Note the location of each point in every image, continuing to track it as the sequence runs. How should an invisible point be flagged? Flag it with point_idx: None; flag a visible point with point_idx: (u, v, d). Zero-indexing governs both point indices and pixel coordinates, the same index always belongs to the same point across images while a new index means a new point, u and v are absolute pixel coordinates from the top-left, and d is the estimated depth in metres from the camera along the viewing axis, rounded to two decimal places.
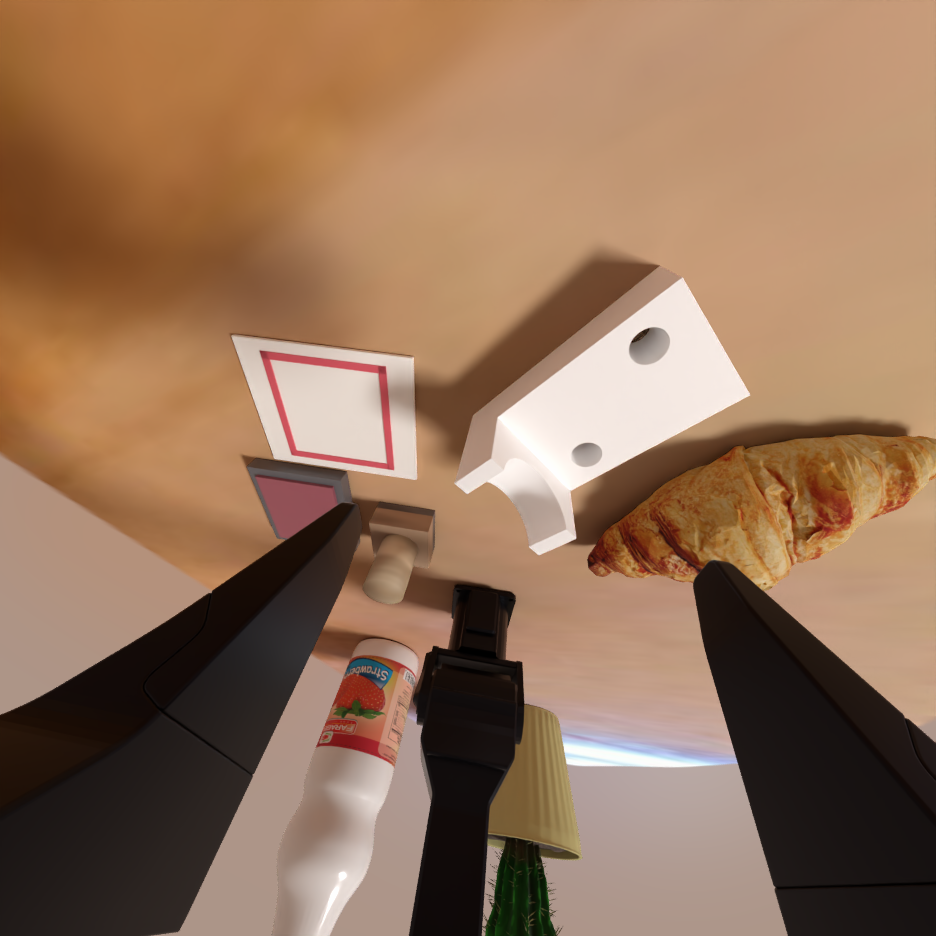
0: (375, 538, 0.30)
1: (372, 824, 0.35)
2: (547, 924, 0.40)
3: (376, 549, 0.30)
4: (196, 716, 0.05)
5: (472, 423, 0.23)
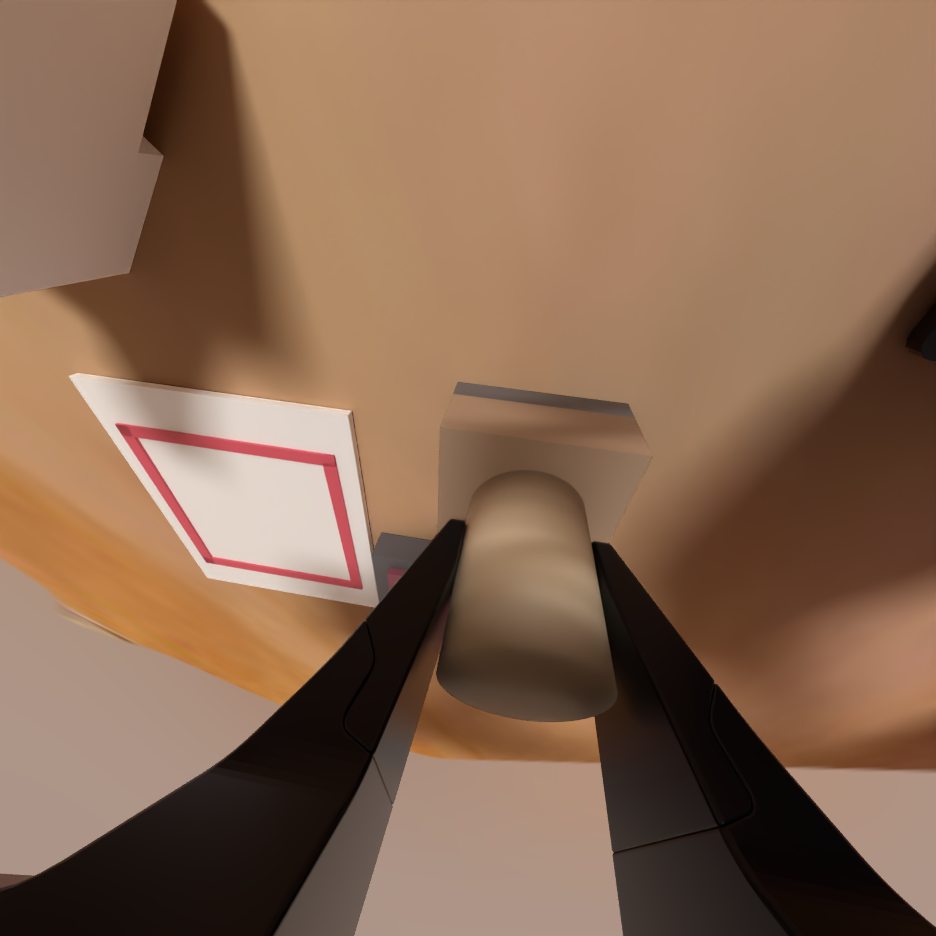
0: None
1: None
2: None
3: None
4: (383, 755, 0.05)
5: None
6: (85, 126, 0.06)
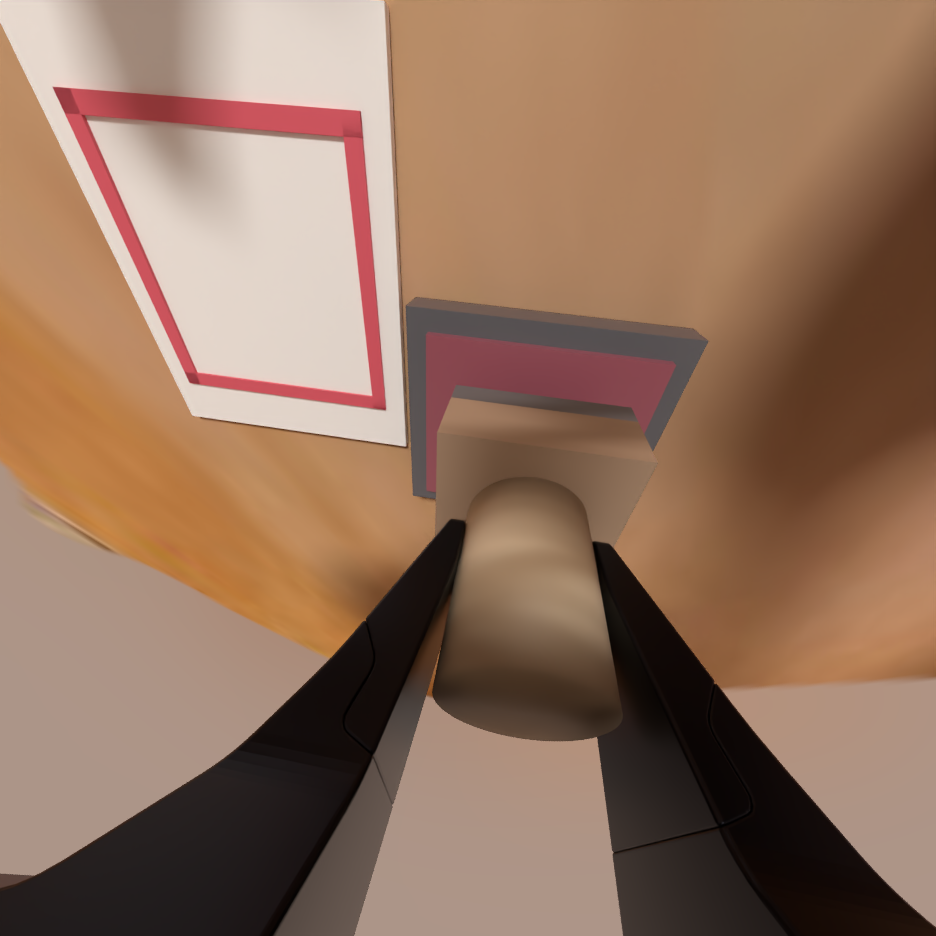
0: None
1: None
2: None
3: None
4: (384, 755, 0.05)
5: None
6: None
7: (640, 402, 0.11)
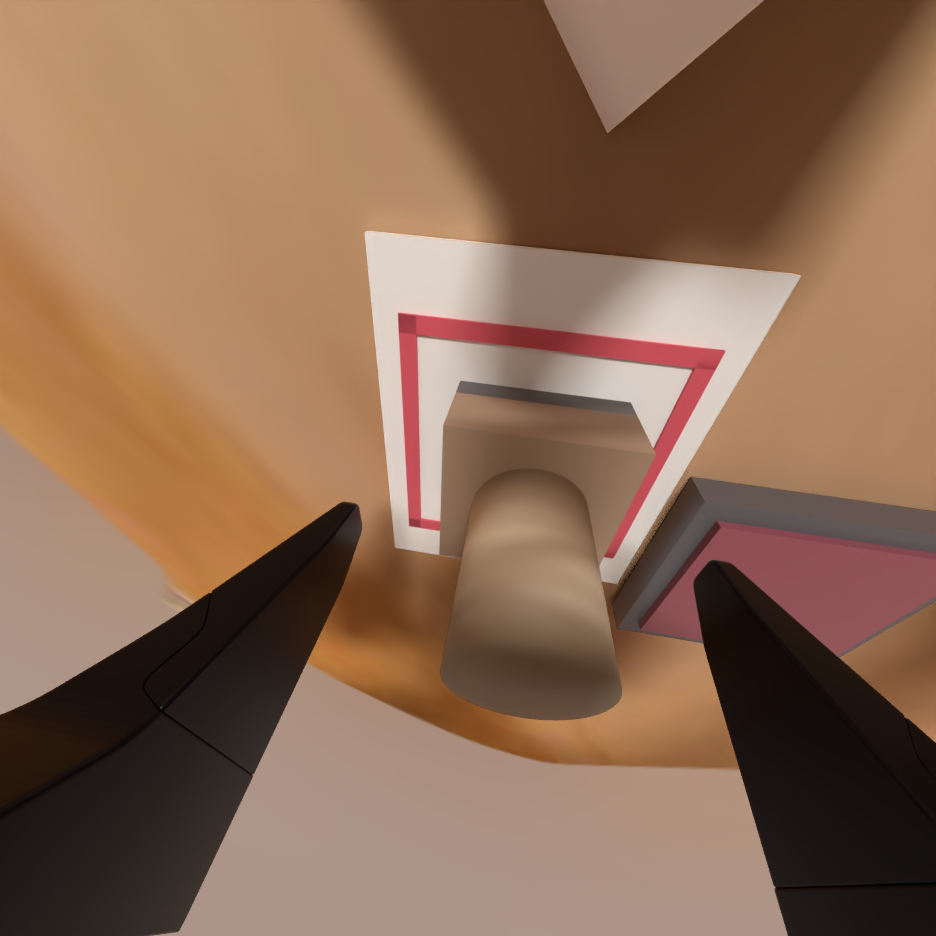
0: None
1: None
2: None
3: None
4: (196, 716, 0.05)
5: (615, 109, 0.06)
6: None
7: (926, 589, 0.11)
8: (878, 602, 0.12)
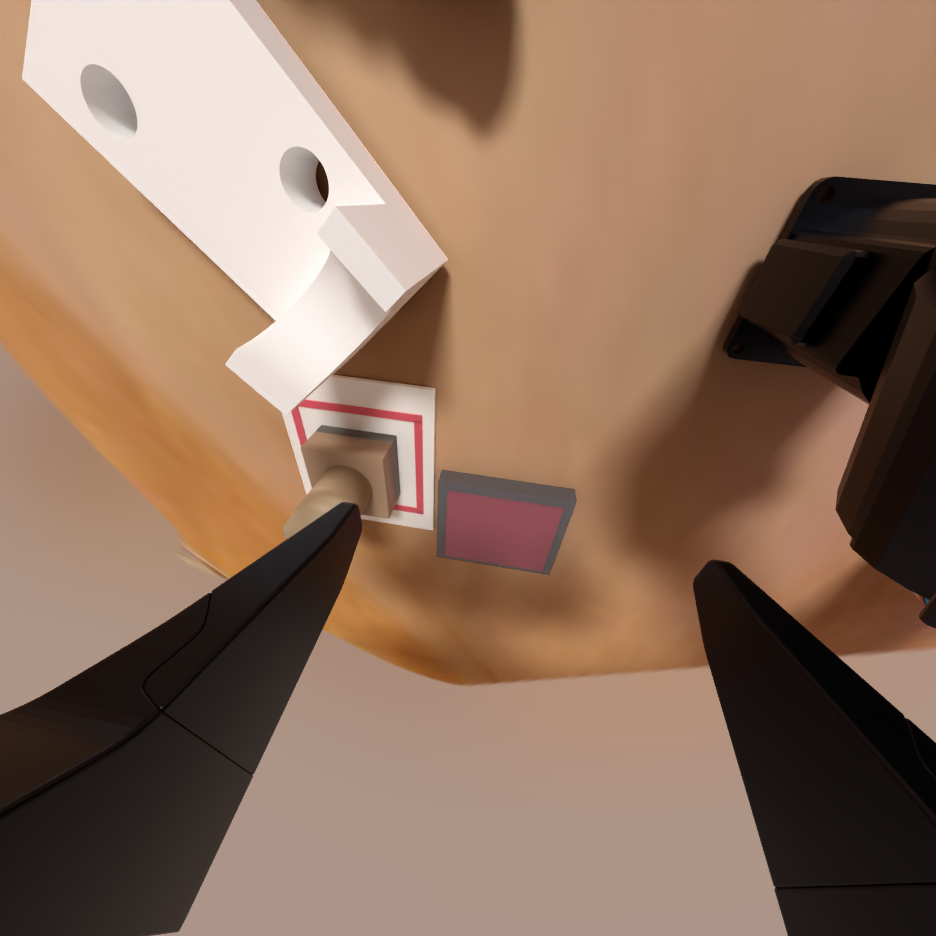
0: None
1: None
2: None
3: (365, 511, 0.23)
4: (196, 716, 0.05)
5: None
6: (394, 313, 0.16)
7: (550, 523, 0.23)
8: (537, 532, 0.24)
